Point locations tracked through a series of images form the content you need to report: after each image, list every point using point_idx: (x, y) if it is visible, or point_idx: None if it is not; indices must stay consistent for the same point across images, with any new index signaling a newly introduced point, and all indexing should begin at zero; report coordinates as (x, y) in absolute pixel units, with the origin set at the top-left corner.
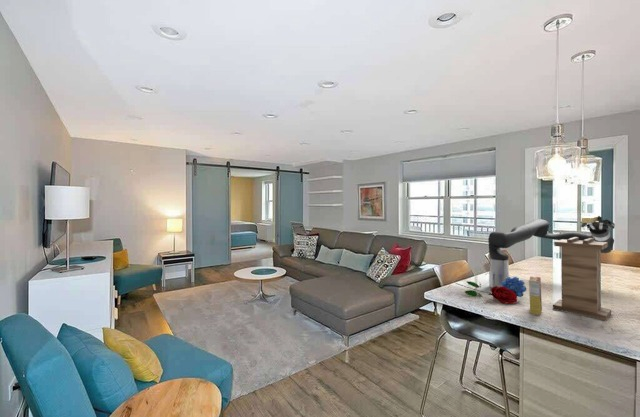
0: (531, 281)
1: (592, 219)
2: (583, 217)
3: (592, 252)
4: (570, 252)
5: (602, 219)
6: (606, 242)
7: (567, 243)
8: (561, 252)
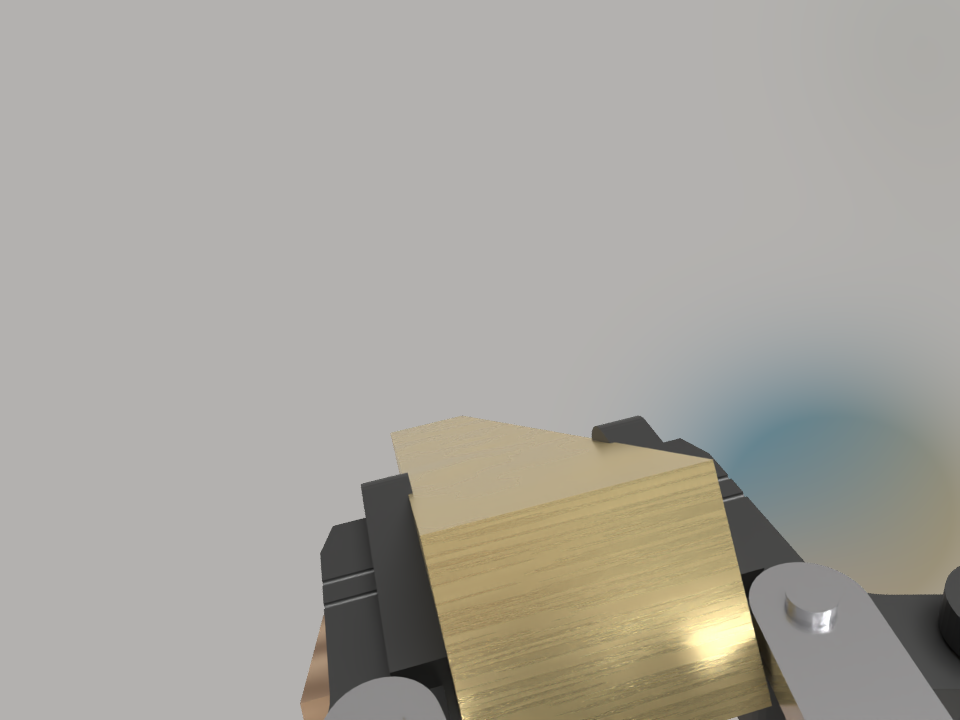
0: None
1: (399, 470)
2: (458, 418)
3: None
4: None
5: (335, 672)
6: (309, 691)
7: None
8: None
